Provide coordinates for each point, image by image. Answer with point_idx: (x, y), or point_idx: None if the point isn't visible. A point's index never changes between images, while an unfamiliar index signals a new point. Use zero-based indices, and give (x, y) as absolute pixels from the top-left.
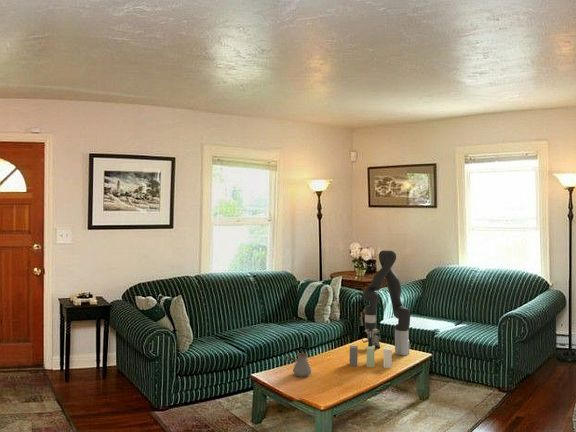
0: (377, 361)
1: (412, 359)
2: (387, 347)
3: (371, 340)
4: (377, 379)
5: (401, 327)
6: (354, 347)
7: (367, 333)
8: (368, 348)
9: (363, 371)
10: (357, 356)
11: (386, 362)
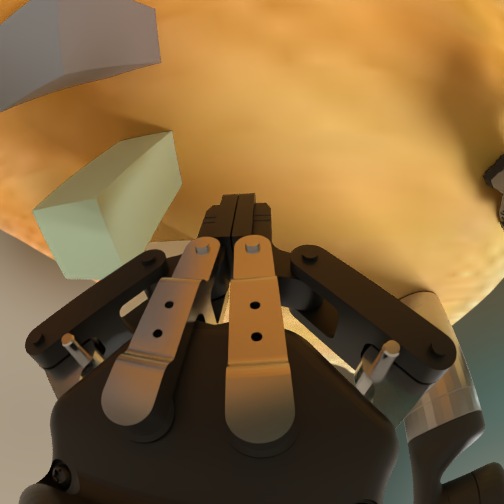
0: (260, 202)
1: (325, 347)
2: None
3: (144, 301)
4: (11, 224)
5: (414, 459)
6: (5, 71)
7: (116, 360)
8: (42, 227)
9: (44, 144)
10: (113, 70)
11: None
